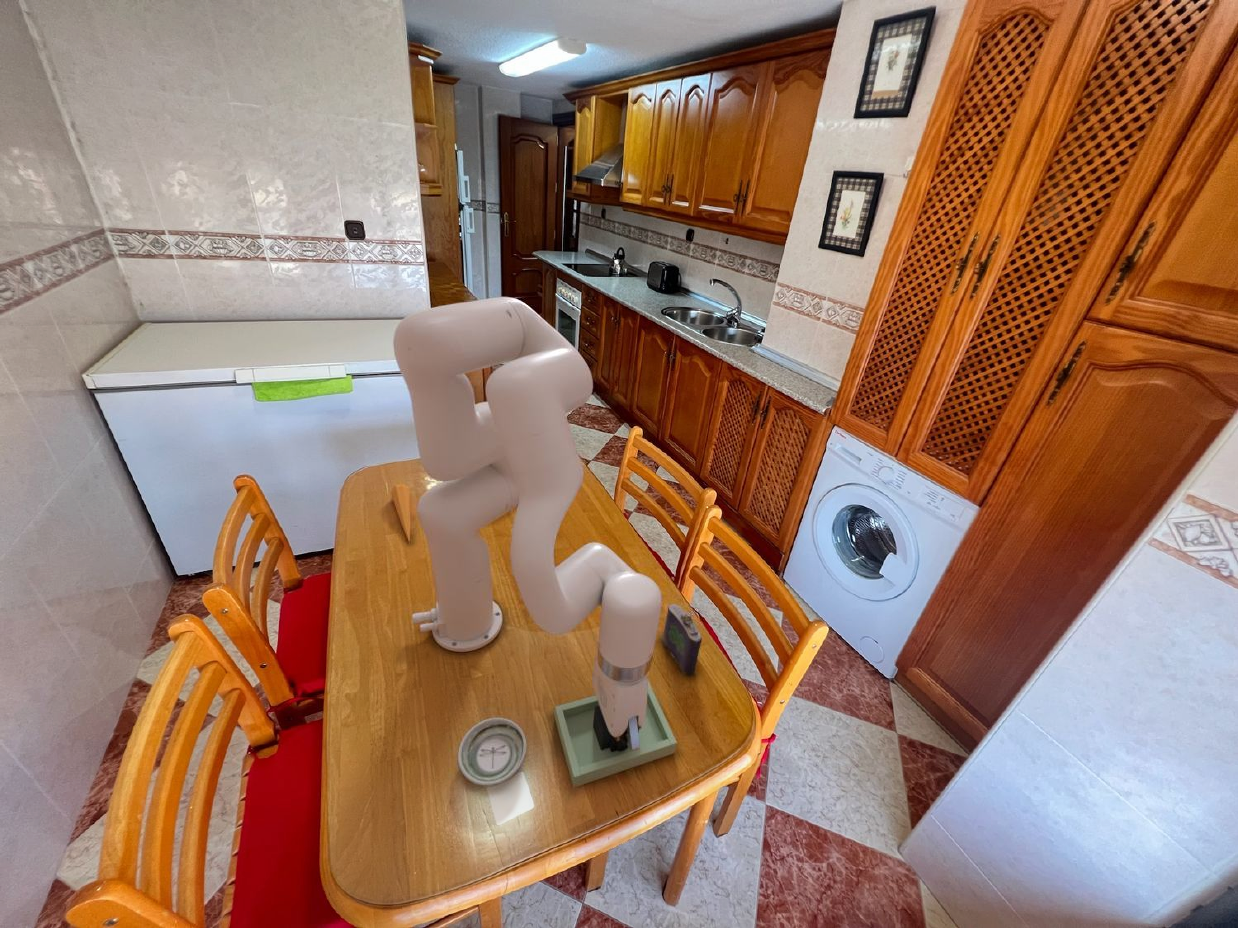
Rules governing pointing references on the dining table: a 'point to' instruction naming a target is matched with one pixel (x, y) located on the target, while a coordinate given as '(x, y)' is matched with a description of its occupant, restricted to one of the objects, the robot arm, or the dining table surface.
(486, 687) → the dining table surface
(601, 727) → the black rectangular block
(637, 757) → the green rectangular tray
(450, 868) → the dining table surface
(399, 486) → the carrot
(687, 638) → the flask
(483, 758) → the saucer
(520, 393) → the robot arm
